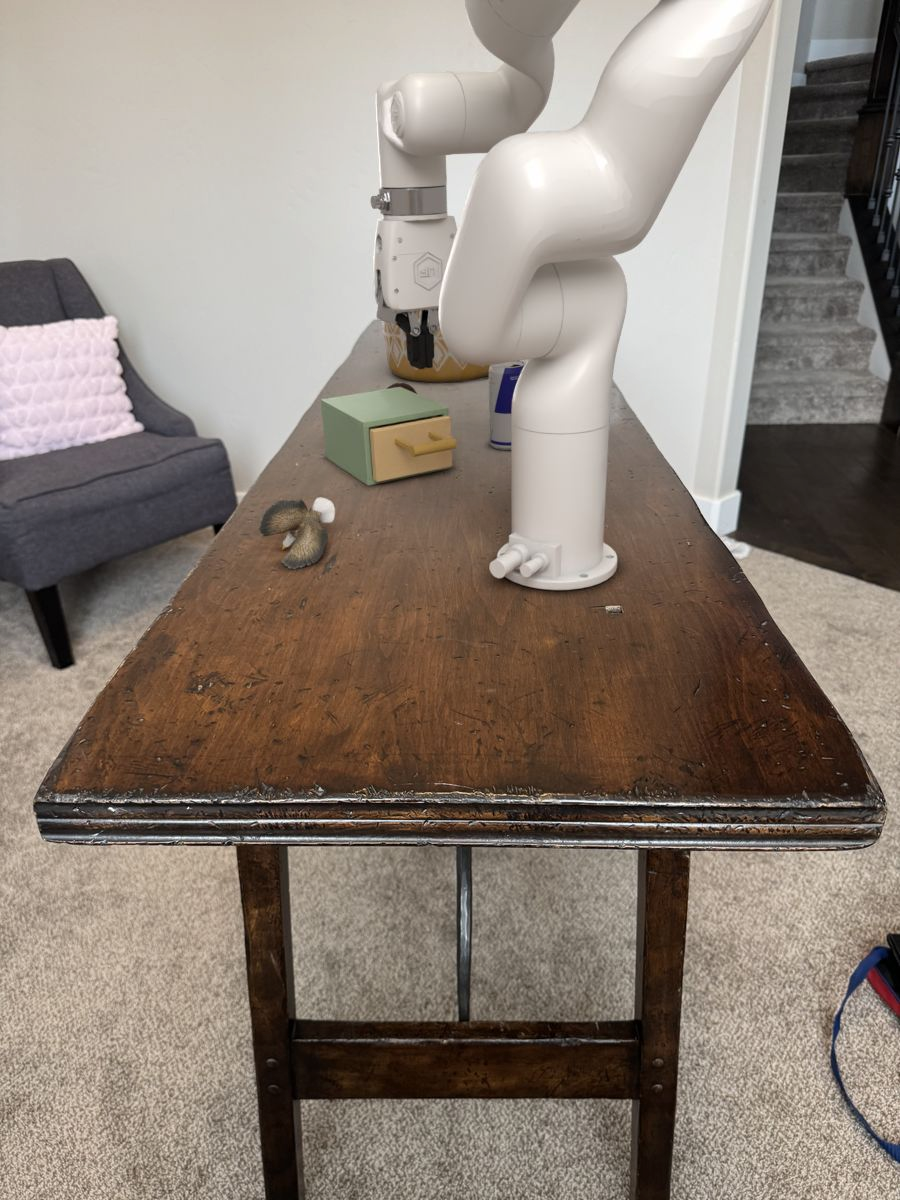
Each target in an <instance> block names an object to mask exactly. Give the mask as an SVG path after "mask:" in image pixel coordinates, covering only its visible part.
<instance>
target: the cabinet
mask: <svg viewBox="0 0 900 1200" xmlns="http://www.w3.org/2000/svg"><path fill="white" fill-rule="evenodd" d="M416 393H417V392H416ZM416 393H413V392H411V391H409V390H407V389H404V388H402V387H396V388H389V389H387V388H384V389H378V390H371V391H365V392H360V393H352V394H347V395H340V396H335V397H328V398H322V399H320V405H321V417H322V426H323V435H324V436H323V437H324V446H325V456H326V457H325V458H326V459H327V460H328V461H330V462H332V463H334V464H335V465H336V466H338V467H339V468H341V469H342V470H344V471H345V472H346V473H348V474H350V475H352V476H353V477H354V478H356V479H357V480H359V481H360V482H362V483H363V484H365V485H366V486H369V487H370V486H373V485H379V484H382V483H388V482H393V481H398V480H402V479H407V478H411V477H416V476H421V475H426V474H431V473H436V472H440V471H445V470H449V469H451V467H447V468H442V469H437V470H432V471H427V472H423V473H418V474H413V475H408V476H404V477H399V478H394V479H389V480H384V481H380V482H376V481H375V480H373V473H372V464H371V450H370V437H369V427H375V426H380V425H386V424H391V423H397V422H402V421H408V420H414V419H419V418H425V417H430V416H437V417H443V416H448V417H450V416H449V407H448V406H445V405H443V404H441V403H439V402H436V401H434V400H431V399H430V398H427V397H425V396H423V395H420V394H418V393H417V394H416Z"/></svg>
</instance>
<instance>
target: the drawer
mask: <svg viewBox="0 0 900 1200" xmlns="http://www.w3.org/2000/svg"><path fill="white" fill-rule="evenodd" d="M451 421H452V418H451V417H450V416H449V417H448V416H443V417H437V416H430V417H425V418H419V419H414V420H408V421H402V422H397V423H391V424H386V425H380V426H375V427H369V437H370V450H371V464H372V473H373V480H375V481H376V482H380V481H384V480H389V479H394V478H399V477H404V476H408V475H413V474H418V473H423V472H427V471H432V470H437V469H442V468H447V467H450V468H451V467H453V450H456V448H457V441H456V439H455V438H454V437H452V422H451Z"/></svg>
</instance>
